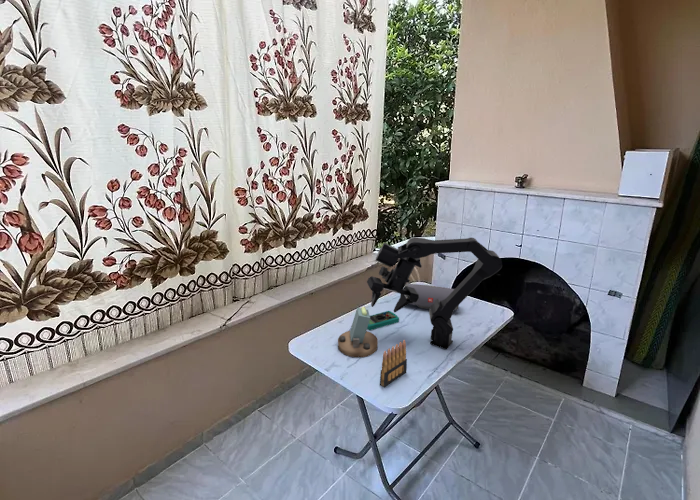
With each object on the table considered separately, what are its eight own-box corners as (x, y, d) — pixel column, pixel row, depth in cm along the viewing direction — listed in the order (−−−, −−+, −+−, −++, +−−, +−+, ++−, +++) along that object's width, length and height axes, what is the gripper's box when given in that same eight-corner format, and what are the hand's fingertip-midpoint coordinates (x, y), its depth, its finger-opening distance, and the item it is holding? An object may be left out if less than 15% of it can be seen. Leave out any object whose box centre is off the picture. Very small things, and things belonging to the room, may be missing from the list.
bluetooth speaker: (402, 309, 162) (403, 287, 159) (405, 300, 170) (407, 279, 167) (457, 316, 155) (459, 294, 152) (458, 306, 164) (460, 285, 161)
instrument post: (360, 334, 136) (369, 306, 133) (362, 343, 130) (371, 314, 127) (349, 332, 135) (358, 304, 132) (351, 341, 130) (359, 312, 126)
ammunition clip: (402, 370, 121) (403, 337, 117) (406, 373, 119) (408, 339, 116) (379, 385, 114) (380, 350, 110) (384, 388, 112) (385, 353, 109)
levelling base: (374, 335, 141) (375, 322, 139) (380, 356, 128) (380, 342, 126) (337, 336, 140) (337, 323, 138) (339, 358, 127) (339, 344, 125)
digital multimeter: (400, 323, 151) (400, 316, 150) (368, 332, 144) (369, 325, 143) (389, 315, 157) (390, 309, 156) (359, 323, 150) (359, 317, 149)
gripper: (416, 268, 140) (397, 302, 145) (372, 254, 133) (354, 291, 138) (428, 283, 130) (408, 319, 135) (381, 269, 123) (362, 308, 129)
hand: (383, 309), depth 135 cm, fingers open, 9 cm apart
